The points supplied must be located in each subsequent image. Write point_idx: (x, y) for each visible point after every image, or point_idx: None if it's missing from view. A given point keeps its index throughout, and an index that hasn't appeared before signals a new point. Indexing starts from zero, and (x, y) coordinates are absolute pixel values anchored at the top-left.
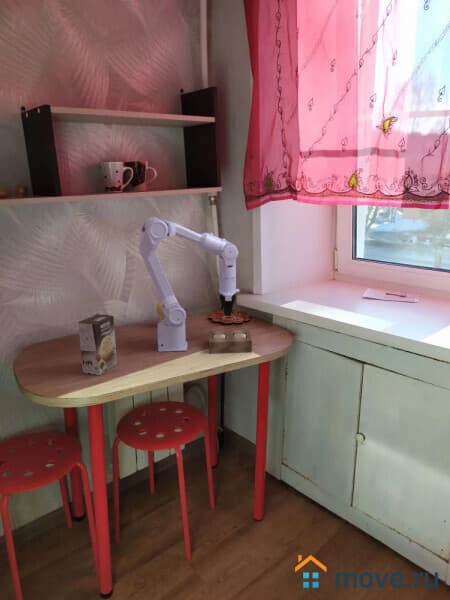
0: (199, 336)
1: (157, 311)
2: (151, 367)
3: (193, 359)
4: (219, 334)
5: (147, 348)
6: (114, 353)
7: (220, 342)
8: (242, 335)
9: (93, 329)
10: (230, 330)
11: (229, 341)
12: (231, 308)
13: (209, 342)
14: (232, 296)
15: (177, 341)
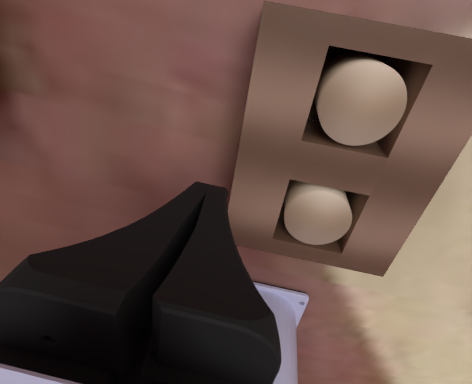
0: None
1: None
2: (392, 377)
3: (396, 291)
4: (297, 214)
5: None
6: None
7: (407, 233)
8: (375, 90)
9: None
10: (243, 140)
11: (431, 194)
12: (230, 233)
13: (383, 274)
14: (127, 332)
15: (296, 343)
